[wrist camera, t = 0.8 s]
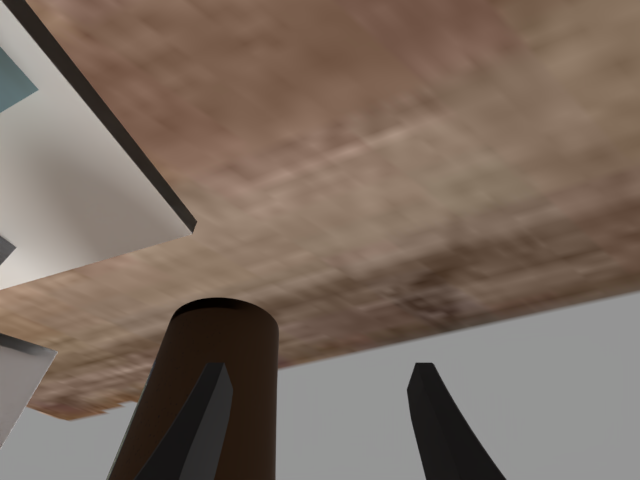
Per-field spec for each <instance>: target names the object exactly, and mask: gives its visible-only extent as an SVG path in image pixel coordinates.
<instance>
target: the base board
mask: <svg viewBox="0 0 640 480" xmlns="http://www.w3.org/2000/svg"><path fill="white" fill-rule="evenodd" d="M0 47H1V48H2V49H3V50H4V51H5V53H6V54H7V55H8V56H9V57H10V58H11V59H12V60H13V61H14V63H15V64H16V65H17V66H18V67H19V68H20V69H21V70H22V72H23V73H24V74H25V75H26V76H27V77H28V78H29V79H30V81H31V82H32V83H33V84H34V85H35V86H36V87H37V88H38V89H39V90H38V91H36V92H34V93H33V94H31V95H29V96H28V97H26V98H24V99H23V100H21V101H19V102H18V103H16V104H14V105H13V106H11V107H9V108H8V109H6V110H4V111H3V112H1V113H0V236H1V237H3V238H4V239H5V240H7V241H8V242H10V243H11V244H12V245H14V246H15V247H16V249H15V250H14V251H13V252H12V253H11V254H10V255H9V256H8V258H7V259H6V260H5V261H4V262H3V263H2V264H1V265H0V290H2V289H5V288H9V287H12V286H16V285H19V284H22V283H26V282H29V281H33V280H36V279H40V278H43V277H47V276H50V275H53V274H57V273H60V272H64V271H67V270H71V269H74V268H78V267H81V266H84V265H88V264H91V263H95V262H98V261H102V260H105V259H109V258H112V257H116V256H119V255H122V254H126V253H129V252H133V251H136V250H140V249H143V248H147V247H150V246H153V245H157V244H160V243H164V242H167V241H171V240H174V239H178V238H181V237H184V236H188V235H191V234H193V232H194V229H195V226H196V224H197V220H196V219H195V218H194V216H193V215H192V214H191V213H190V211H189V210H188V209H187V207H186V206H185V205H184V204H183V202H182V201H181V200H180V199H179V197H178V196H177V195H176V193H175V192H174V191H173V190H172V188H171V187H170V186H169V184H168V183H167V182H166V181H165V179H164V178H163V177H162V175H161V174H160V173H159V172H158V170H157V169H156V168H155V166H154V165H153V164H152V163H151V161H150V160H149V159H148V157H147V156H146V155H145V154H144V152H143V151H142V150H141V148H140V147H139V146H138V145H137V143H136V142H135V141H134V139H133V138H132V137H131V136H130V134H129V133H128V132H127V130H126V129H125V128H124V127H123V125H122V124H121V123H120V121H119V120H118V119H117V118H116V116H115V115H114V114H113V112H112V111H111V110H110V109H109V107H108V106H107V105H106V103H105V102H104V101H103V100H102V98H101V97H100V96H99V95H98V93H97V92H96V91H95V89H94V88H93V87H92V86H91V84H90V83H89V82H88V80H87V79H86V78H85V77H84V75H83V74H82V73H81V71H80V70H79V69H78V68H77V66H76V65H75V64H74V62H73V61H72V60H71V59H70V57H69V56H68V55H67V53H66V52H65V51H64V50H63V48H62V47H61V46H60V44H59V43H58V42H57V41H56V39H55V38H54V37H53V35H52V34H51V33H50V32H49V30H48V29H47V28H46V26H45V25H44V24H43V23H42V21H41V20H40V19H39V17H38V16H37V15H36V14H35V12H34V11H33V10H32V8H31V7H30V6H29V5H28V3H27V2H26V1H25V0H0Z"/></svg>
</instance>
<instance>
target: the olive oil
mask: <svg viewBox="0 0 640 480" xmlns="http://www.w3.org/2000/svg"><path fill="white" fill-rule="evenodd" d="M278 351H279V327H278V324H277V322H276V320H275V319H274V318H273V317H272V316H271V315H270V314H269V313H268V312H267V311H265V310H264V309H262V308H260V307H259V306H257V305H254V304H252V303H249V302H246V301H242V300H238V299H233V298H223V297H213V298H203V299H198V300H195V301H192V302H189V303H187V304H185V305H183V306H181V307H180V308H178V309H177V310H176V311H175V313H174V314H173V316H172V318H171V320H170V322H169V325H168V327H167V330H166V333H165V335H164V338H163V340H162V343H161V346H160V348H159V351H158V353H157V356H156V359H155V361H154V363H153V366H152V368H151V371H150V373H149V376H148V378H147V381H146V383H145V386H144V388H143V391H142V393H141V396H140V398H139V401H138V403H137V405H136V408H135V410H134V413H133V415H132V418H131V420H130V423H129V425H128V428H127V430H126V432H125V435H124V437H123V440H122V442H121V445H120V447H119V450H118V452H117V455H116V457H115V459H114V462H113V464H112V467H111V469H110V471H109V474H108V476H107V479H106V480H133V479H134V478H135V476H136V475H137V474H138V472H139V471H140V470H141V468H142V467H143V466H144V464H145V463H146V461H147V460H148V459H149V457H150V456H151V454H152V453H153V451H154V450H155V448H156V447H157V445H158V444H159V442H160V441H161V439H162V438H163V436H164V435H165V433H166V432H167V430H168V429H169V427H170V426H171V424H172V423H173V421H174V419H175V418H176V416H177V414H178V413H179V411H180V410H181V408H182V406H183V405H184V403H185V401H186V400H187V398H188V396H189V394H190V393H191V391H192V389H193V387H194V386H195V384H196V382H197V380H198V378H199V376H200V374H201V373H202V371H203V369H204V367H205V365H206V364H207V363H225V366H226V369H227V372H228V375H229V378H230V381H231V384H232V387H233V395H232V403H231V409H230V416H229V421H228V425H227V429H226V433H225V437H224V441H223V445H222V449H221V453H220V457H219V461H218V465H217V469H216V473H215V477H214V480H276V422H277V378H278Z"/></svg>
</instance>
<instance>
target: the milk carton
mask: <svg viewBox="0 0 640 480" xmlns="http://www.w3.org/2000/svg"><path fill="white" fill-rule="evenodd" d="M57 353H58V351H55V350H52V349H49V348H46V347H43V346H40V345H36V344H33V343H30V342H27V341H24V340H21V339H18V338H15V337H11V336H8V335H5V334H2V333H0V449H1V448H2V446H3V444H4V443H5V441H6V439H7V438H8V436H9V434H10V432H11V431H12V429H13V427H14V426H15V424H16V422H17V421H18V419H19V417H20V416H21V414H22V412H23V410H24V409H25V407H26V405H27V404H28V402H29V400H30V399H31V397H32V395H33V393H34V392H35V390H36V388H37V387H38V385H39V383H40V382H41V380H42V378H43V377H44V375H45V373H46V371H47V370H48V368H49V366H50V365H51V363H52V361H53V360H54V358H55V356H56V354H57Z"/></svg>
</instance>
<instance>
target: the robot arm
mask: <svg viewBox="0 0 640 480" xmlns="http://www.w3.org/2000/svg"><path fill="white" fill-rule="evenodd" d="M232 395H233V387H232V384H231V381H230V378H229V375H228V372H227V369H226V366H225V363H207V364H206V365H205V367H204V369H203V371H202V373H201V374H200V376H199V378H198V380H197V382H196V384H195V386H194V387H193V389H192V391H191V393H190V394H189V396H188V398H187V400H186V401H185V403H184V405H183V406H182V408H181V410H180V411H179V413H178V414H177V416H176V418H175V419H174V421H173V423H172V424H171V426H170V427H169V429H168V430H167V432H166V433H165V435H164V436H163V438H162V439H161V441H160V442H159V444H158V445H157V447H156V448H155V450H154V451H153V453H152V454H151V456H150V457H149V459H148V460H147V461H146V463H145V464H144V466H143V467H142V468H141V470H140V471H139V472H138V474H137V475H136V476H135V478H134V479H133V480H214V477H215V473H216V469H217V465H218V461H219V457H220V453H221V449H222V445H223V441H224V437H225V433H226V429H227V425H228V421H229V416H230V409H231V403H232ZM407 396H408V403H409V410H410V416H411V421H412V425H413V430H414V434H415V438H416V442H417V446H418V450H419V454H420V458H421V462H422V466H423V470H424V473H425V477H426V480H507V479H506V478H505V477H504V475H503V474H502V473H501V471H500V470H499V469H498V467H497V466H496V464H495V463H494V462H493V460H492V459H491V457H490V456H489V455H488V453H487V452H486V450H485V449H484V447H483V446H482V444H481V443H480V441H479V440H478V438H477V437H476V435H475V434H474V432H473V431H472V429H471V428H470V426H469V424H468V423H467V421H466V420H465V418H464V416H463V415H462V413H461V412H460V410H459V408H458V407H457V405H456V403H455V402H454V400H453V398H452V396H451V395H450V393H449V391H448V389H447V388H446V386H445V384H444V382H443V380H442V379H441V377H440V375H439V373H438V371H437V369H436V367H435V365H434V364H433V363H415V366H414V369H413V372H412V375H411V378H410V381H409V384H408V387H407Z"/></svg>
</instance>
